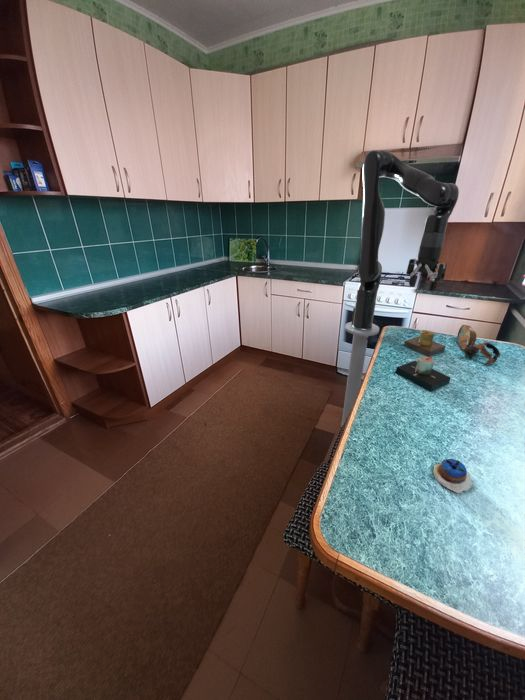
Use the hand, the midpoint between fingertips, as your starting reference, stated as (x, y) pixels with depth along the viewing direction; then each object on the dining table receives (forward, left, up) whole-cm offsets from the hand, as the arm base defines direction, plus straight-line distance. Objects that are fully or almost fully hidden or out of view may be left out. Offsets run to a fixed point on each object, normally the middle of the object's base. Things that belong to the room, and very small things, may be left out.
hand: (421, 288), depth 114 cm
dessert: (+50, -49, -26) cm, 75 cm away
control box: (+19, -17, -26) cm, 36 cm away
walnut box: (+4, +5, -26) cm, 27 cm away
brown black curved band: (+21, +14, -26) cm, 36 cm away
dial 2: (+19, -17, -24) cm, 35 cm away
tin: (+11, +22, -26) cm, 36 cm away
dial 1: (+4, +5, -24) cm, 24 cm away
